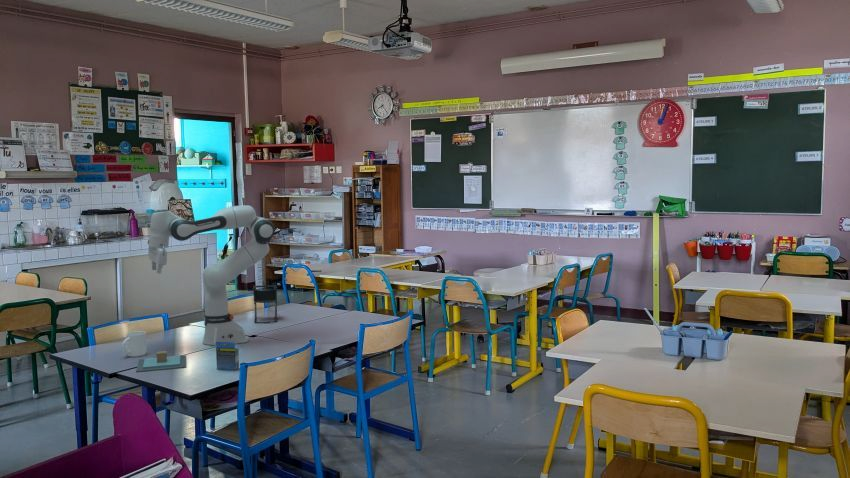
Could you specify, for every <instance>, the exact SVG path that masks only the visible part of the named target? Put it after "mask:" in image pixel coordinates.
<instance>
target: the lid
mask: <svg viewBox="0 0 850 478" xmlns="http://www.w3.org/2000/svg"><path fill="white" fill-rule="evenodd" d="M167 352H168V351H167V350H161V351H158V350H157V352H156V357H147V358H144V359H145V360H144V364H143V369H148V368H159V367H171V366H180V356H181V355H170V356H168V353H167Z"/></svg>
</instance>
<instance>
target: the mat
mask: <svg viewBox="0 0 850 478" xmlns="http://www.w3.org/2000/svg"><path fill="white" fill-rule="evenodd" d="M179 356H180V366H171V367H159V368H148V369H143V364H144V360H145V358H139V359H138V363H137V367H136V370H135V372H136V373H143V372H145V373H146V372H154V371H165V370H174V369H176V370H177V369H178V370H179V369H186V368H187V355H185V354H184V355H179Z"/></svg>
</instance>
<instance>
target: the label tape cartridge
mask: <svg viewBox="0 0 850 478" xmlns="http://www.w3.org/2000/svg"><path fill="white" fill-rule="evenodd" d="M224 344H226V345H224ZM235 345H236V344H235V343H234V342H216V346H215V351H216V352H215V354H216V356H215V357H216V370H217V369H219V370H220V371H222V370H223V371H226V370H227V371H237V370H238V369H239V368H240V358H239V357H240V354H239V353H240V352H239V349H238V348H236V347H235ZM219 370H218V371H219Z"/></svg>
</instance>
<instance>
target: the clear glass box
mask: <svg viewBox="0 0 850 478" xmlns="http://www.w3.org/2000/svg"><path fill="white" fill-rule="evenodd" d="M256 288H273V289H270V290H269V289H267V290H258V289H256ZM252 289H253V291H252V292H253V305H254V322H253V323H254V324H256V323H264V324H271V323H270V322H276V321H277V322H278V306H277V303H278V297H277V296H278V293H277V289H278V288H277V284H270V285H269V284H268V285H267V284H266V285H253V288H252ZM257 303H258V304H266V303H267V304H270V303H274V319H275V320H270V321H269V320H268V321H257ZM277 322H276V323H277Z"/></svg>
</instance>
